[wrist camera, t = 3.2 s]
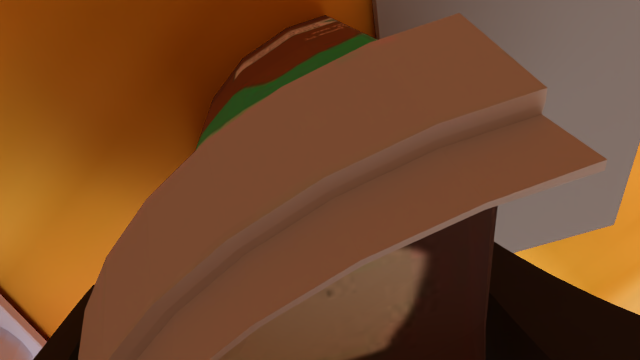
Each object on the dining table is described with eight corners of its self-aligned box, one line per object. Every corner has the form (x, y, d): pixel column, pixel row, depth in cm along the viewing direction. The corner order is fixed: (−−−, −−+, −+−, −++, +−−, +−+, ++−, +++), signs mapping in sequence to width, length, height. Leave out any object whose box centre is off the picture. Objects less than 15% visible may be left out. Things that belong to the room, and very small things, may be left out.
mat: (400, 276, 18) (404, 283, 18) (362, -95, 10) (366, -96, 10) (607, 219, 18) (613, 224, 18) (724, -178, 11) (740, -181, 10)
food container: (82, 7, 10) (-568, 383, 2) (316, -45, 10) (634, 79, 2) (228, 310, 17) (226, 674, 9) (366, 272, 17) (488, 588, 9)
